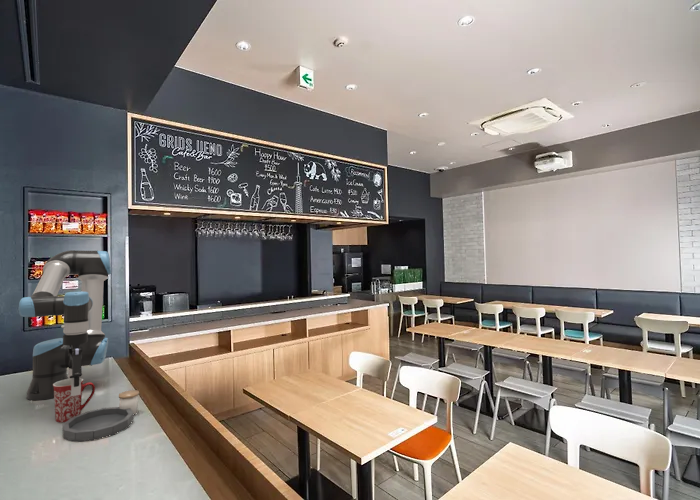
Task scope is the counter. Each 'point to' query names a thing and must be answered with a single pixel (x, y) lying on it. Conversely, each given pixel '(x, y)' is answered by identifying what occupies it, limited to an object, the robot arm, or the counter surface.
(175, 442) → the counter surface
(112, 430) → the tray
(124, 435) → the counter surface
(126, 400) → the pot
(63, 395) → the mug
